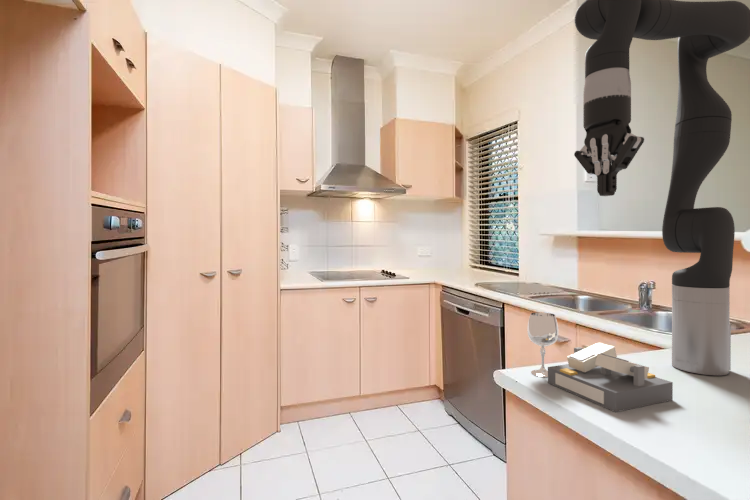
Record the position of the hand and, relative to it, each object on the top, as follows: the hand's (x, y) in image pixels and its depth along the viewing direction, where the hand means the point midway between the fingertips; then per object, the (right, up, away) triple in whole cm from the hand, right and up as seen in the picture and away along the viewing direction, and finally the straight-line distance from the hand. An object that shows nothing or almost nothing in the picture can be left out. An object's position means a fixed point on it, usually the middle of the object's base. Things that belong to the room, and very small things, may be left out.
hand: (606, 195), depth 73 cm
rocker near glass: (-2, -30, +1) cm, 30 cm away
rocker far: (0, -30, -5) cm, 30 cm away
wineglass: (-9, -35, +7) cm, 37 cm away
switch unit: (-1, -35, -2) cm, 35 cm away
